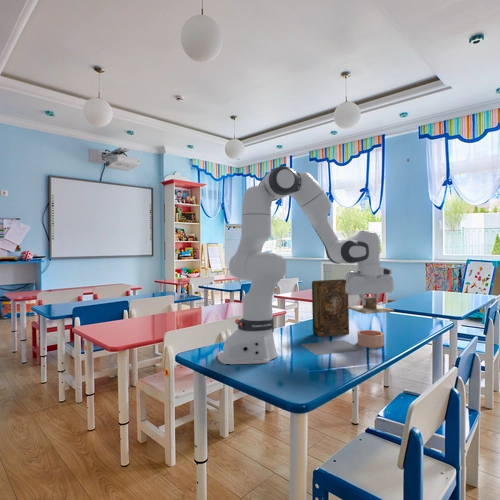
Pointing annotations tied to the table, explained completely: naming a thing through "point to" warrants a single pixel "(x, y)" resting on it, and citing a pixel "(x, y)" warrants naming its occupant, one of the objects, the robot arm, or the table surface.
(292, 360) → the table surface
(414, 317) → the table surface
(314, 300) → the book
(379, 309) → the board
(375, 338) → the bowl
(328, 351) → the mat
